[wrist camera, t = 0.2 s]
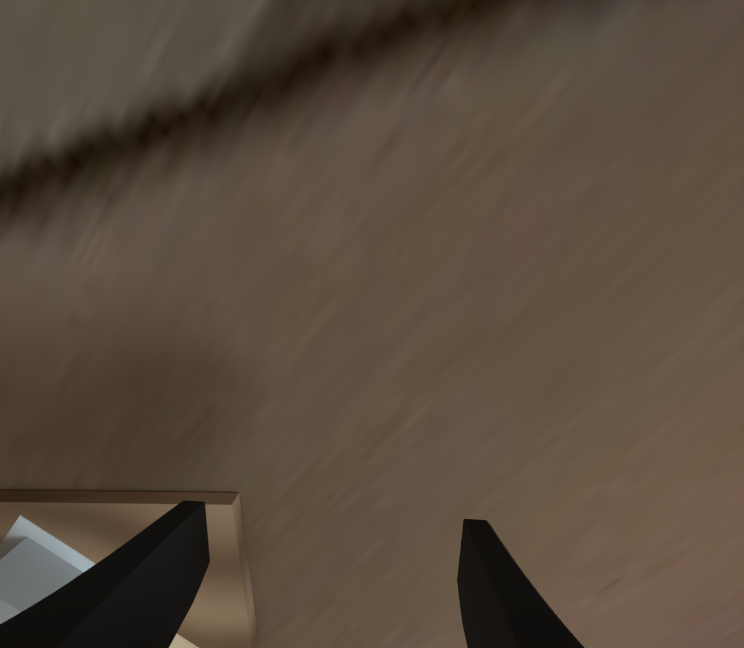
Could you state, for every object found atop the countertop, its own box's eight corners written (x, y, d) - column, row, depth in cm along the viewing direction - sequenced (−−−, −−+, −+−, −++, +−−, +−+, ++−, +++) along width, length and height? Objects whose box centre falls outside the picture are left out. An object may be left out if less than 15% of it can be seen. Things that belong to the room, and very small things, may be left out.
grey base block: (69, 649, 25) (26, 705, 22) (-16, 597, 24) (-72, 649, 21) (116, 593, 23) (76, 645, 20) (27, 536, 23) (-27, 582, 20)
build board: (269, 720, 27) (264, 739, 26) (19, 709, 28) (5, 727, 27) (239, 492, 22) (231, 505, 21) (-57, 489, 23) (-78, 501, 22)
